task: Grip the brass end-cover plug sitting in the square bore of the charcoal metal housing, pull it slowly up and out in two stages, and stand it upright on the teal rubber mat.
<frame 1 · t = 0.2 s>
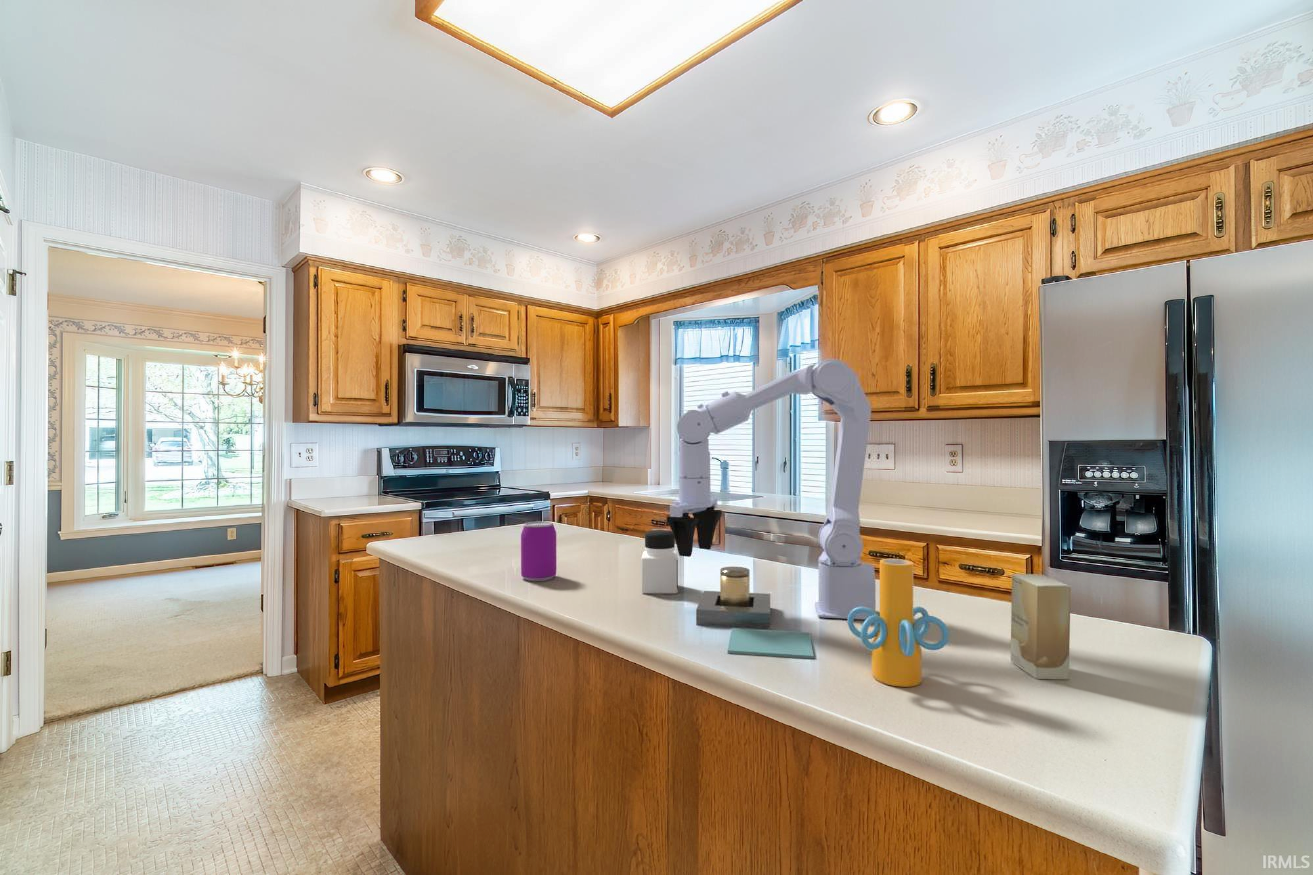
hand: (695, 552, 109), 10 cm above the counter, fingers open, 7 cm apart
medicine bottle: (659, 590, 121), on the counter
mat: (770, 643, 90), on the counter
beverage can: (538, 578, 132), on the counter
skincare box: (1039, 672, 79), on the counter
housing: (734, 615, 104), on the counter
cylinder: (896, 680, 77), on the counter
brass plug: (734, 592, 104), in the housing
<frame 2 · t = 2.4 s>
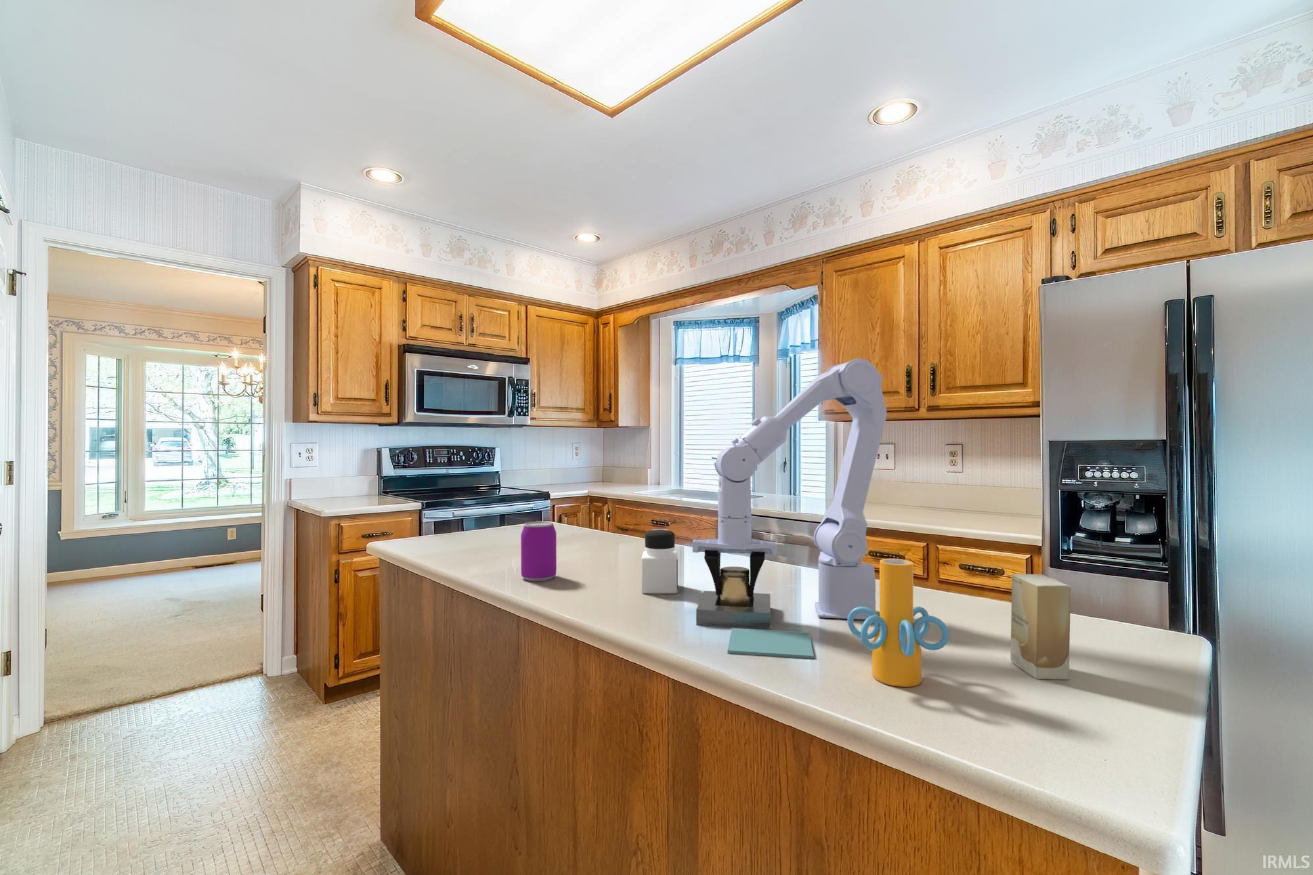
hand: (734, 594, 104), 4 cm above the counter, fingers closed on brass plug, 5 cm apart
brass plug: (734, 592, 104), in the housing, touching gripper
everything else where it was.
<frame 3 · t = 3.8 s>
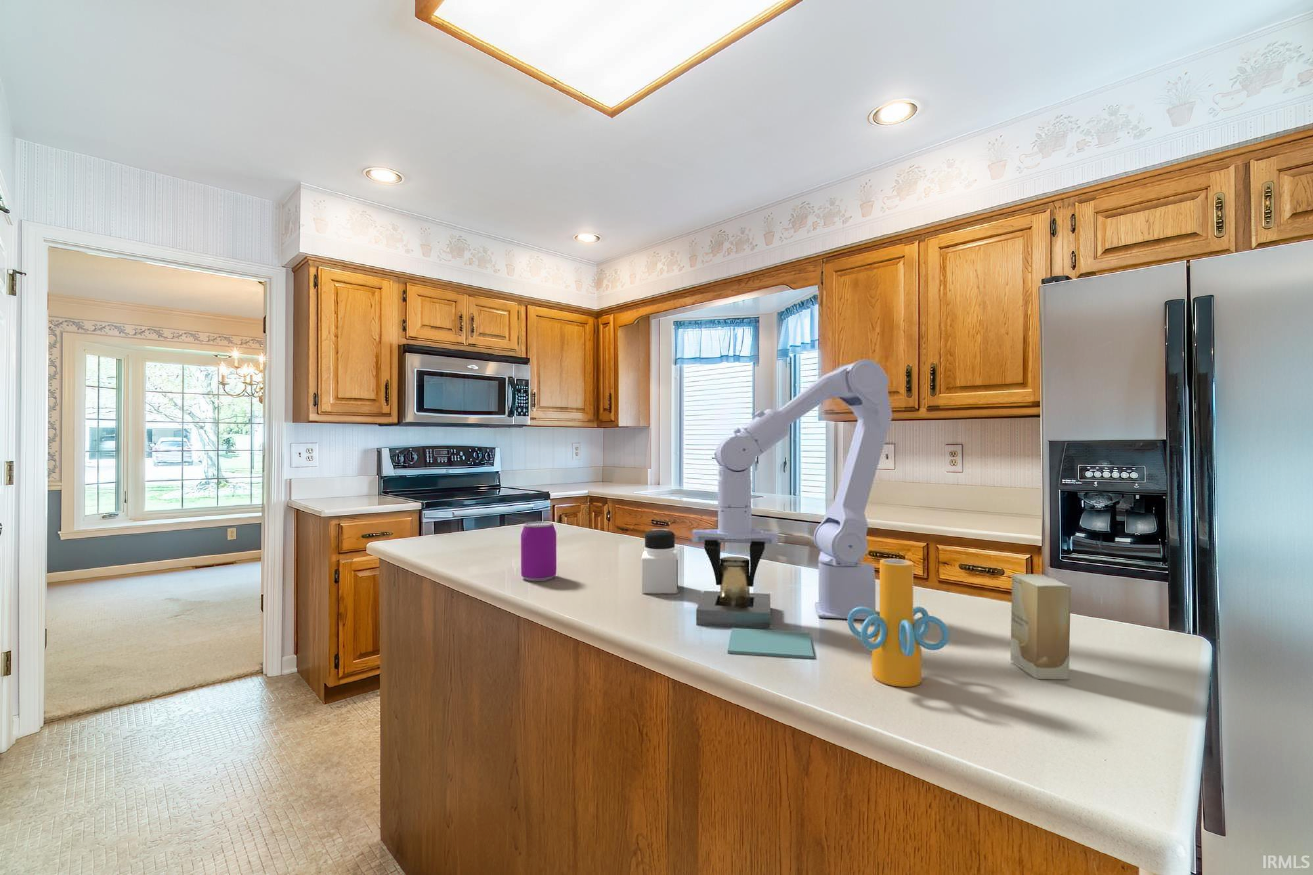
hand: (734, 584, 104), 5 cm above the counter, fingers closed on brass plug, 5 cm apart
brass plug: (734, 582, 104), point 6 cm above the counter, touching gripper
everything else where it was.
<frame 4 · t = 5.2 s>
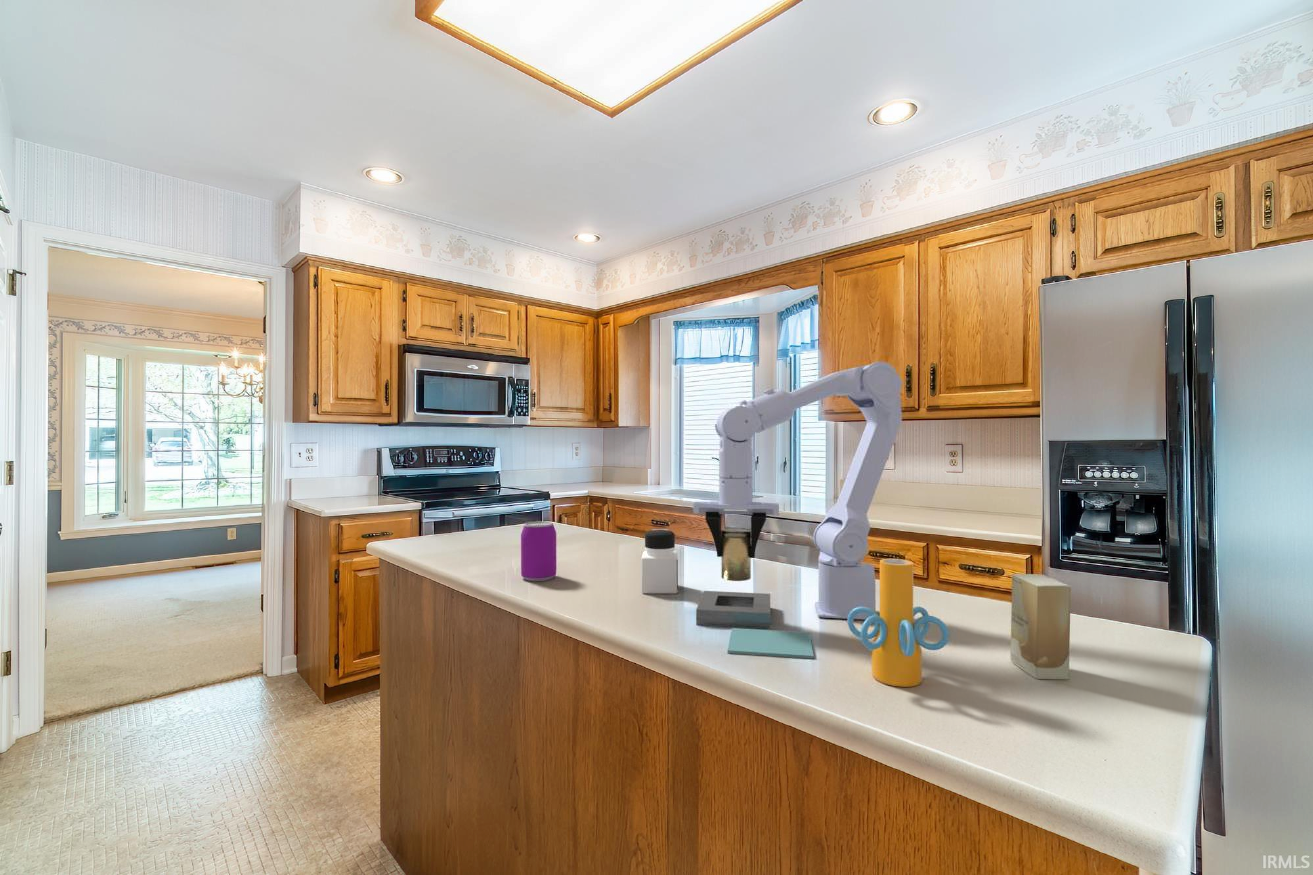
hand: (736, 556, 103), 10 cm above the counter, fingers closed on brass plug, 5 cm apart
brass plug: (736, 554, 103), point 11 cm above the counter, touching gripper
everything else where it was.
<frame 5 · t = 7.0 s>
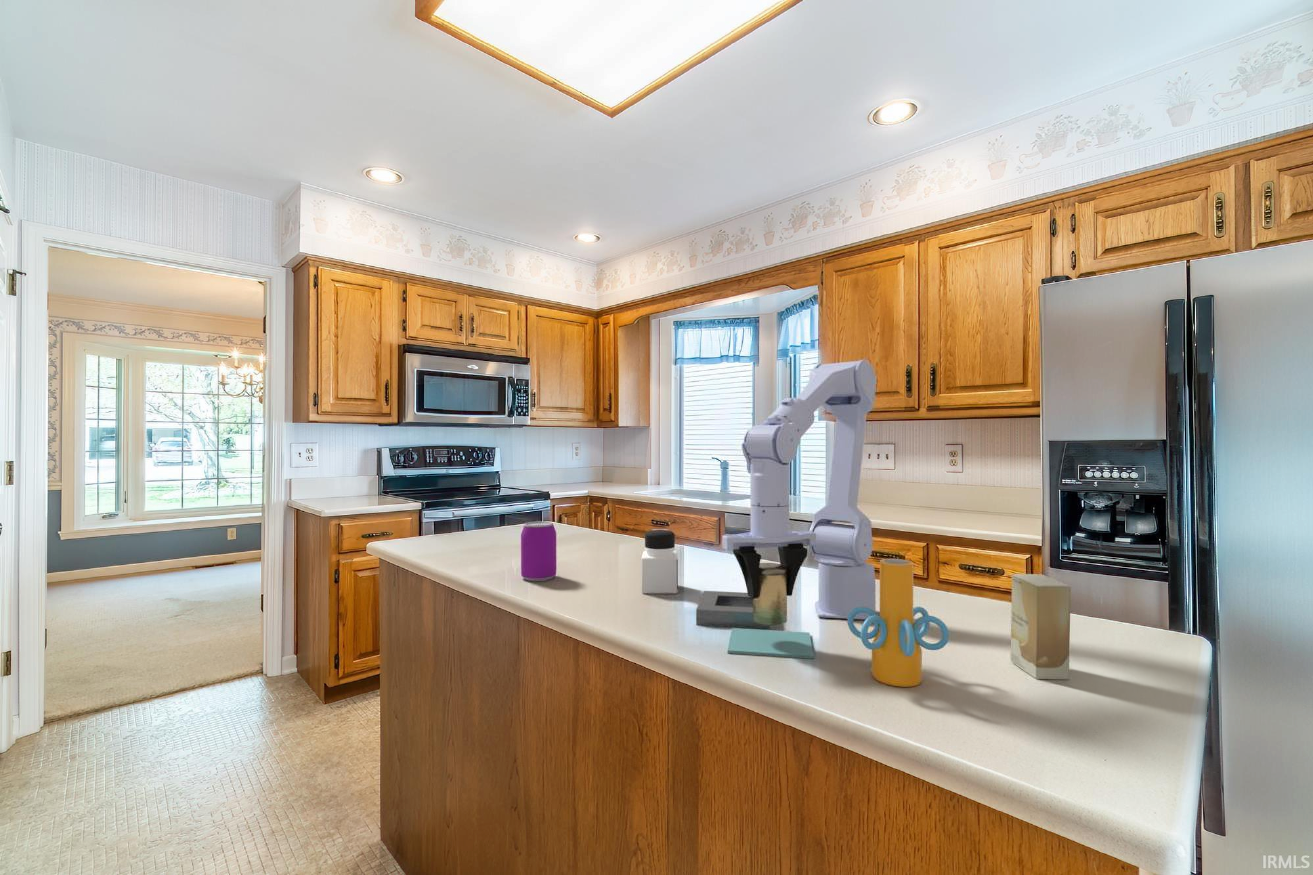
hand: (769, 595, 90), 7 cm above the counter, fingers closed on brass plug, 5 cm apart
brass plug: (769, 593, 90), point 8 cm above the counter, touching gripper
everything else where it was.
when the fingers open (5 cm above the counter, at t = 8.4 s): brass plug drops 1 cm, resting on mat.
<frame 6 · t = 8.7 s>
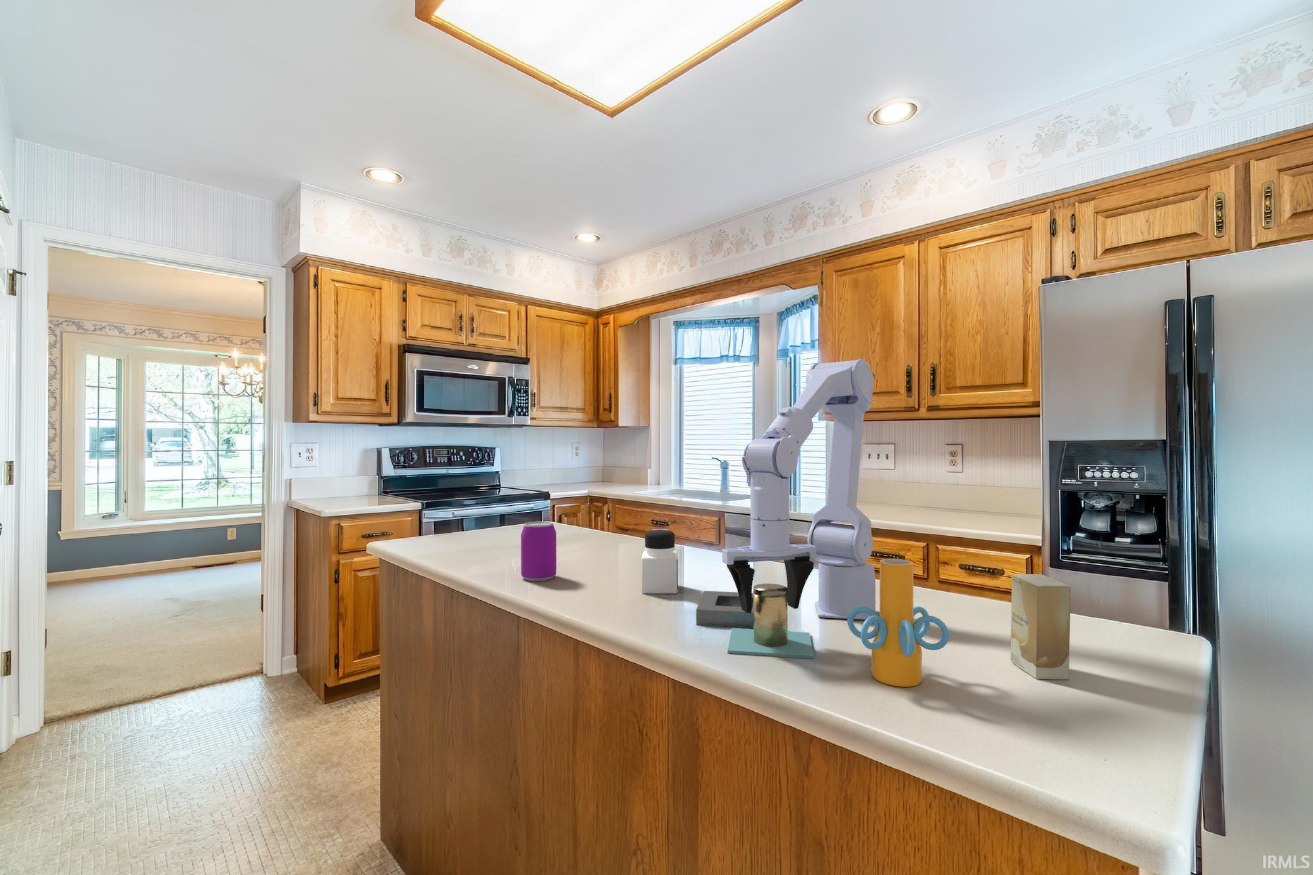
hand: (770, 609, 90), 5 cm above the counter, fingers open, 7 cm apart
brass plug: (770, 614, 90), on the mat
everything else where it was.
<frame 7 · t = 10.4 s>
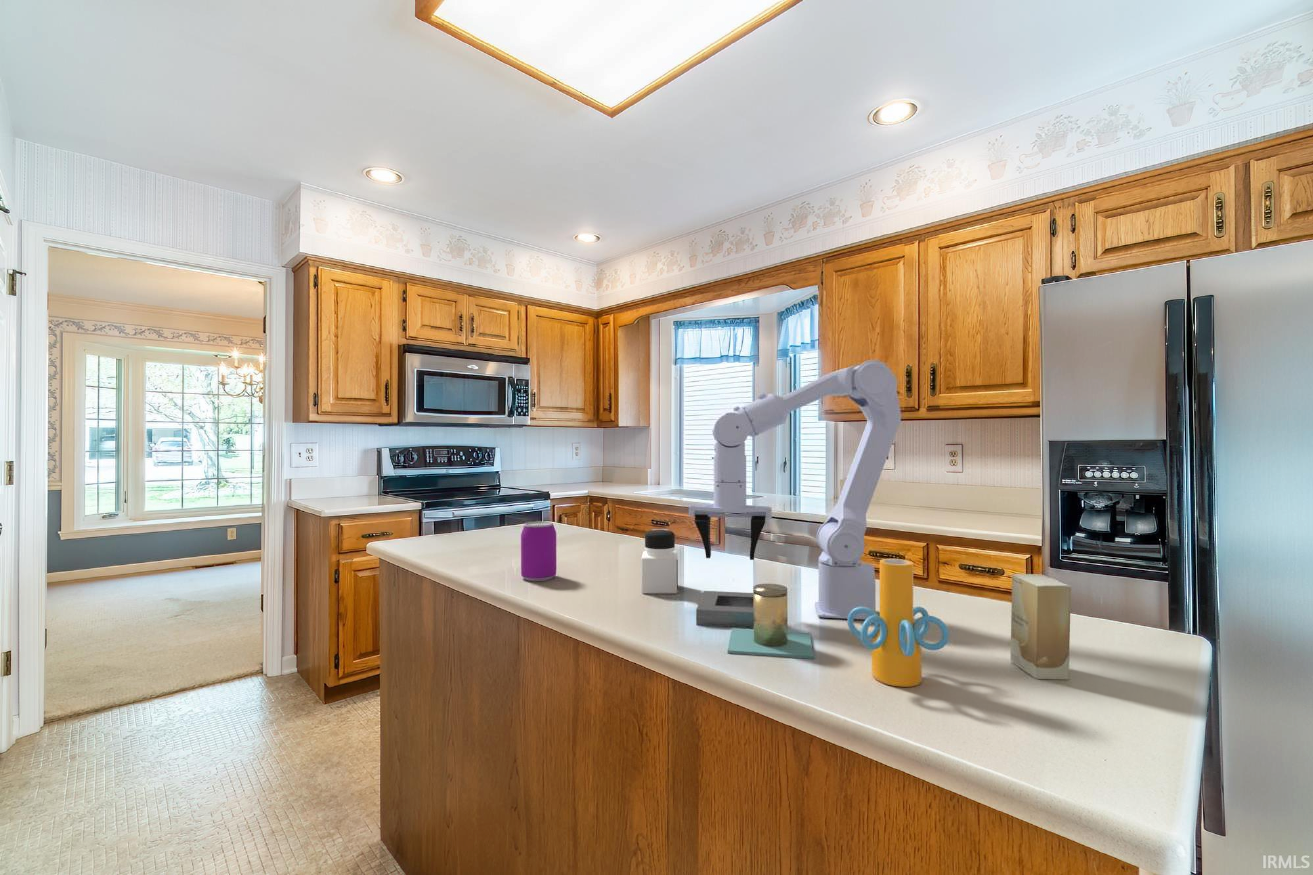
hand: (730, 557, 106), 9 cm above the counter, fingers open, 7 cm apart
nothing on the counter moved.
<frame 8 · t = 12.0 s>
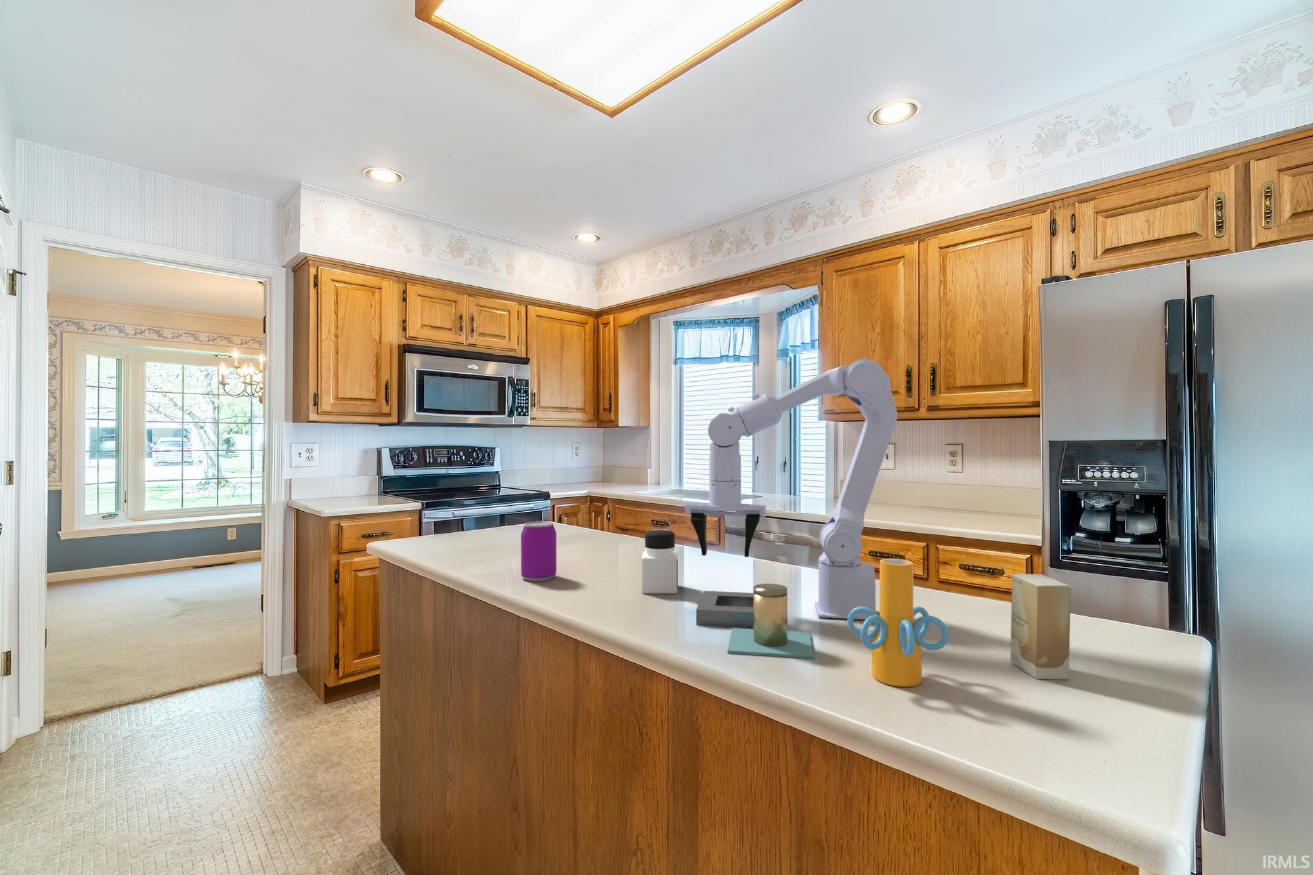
hand: (725, 555, 109), 9 cm above the counter, fingers open, 7 cm apart
nothing on the counter moved.
at the end: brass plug inside the target area on the mat (0.1 cm from its centre), point 4.4 cm above the mat's base; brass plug tilted 0°; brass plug touching mat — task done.
